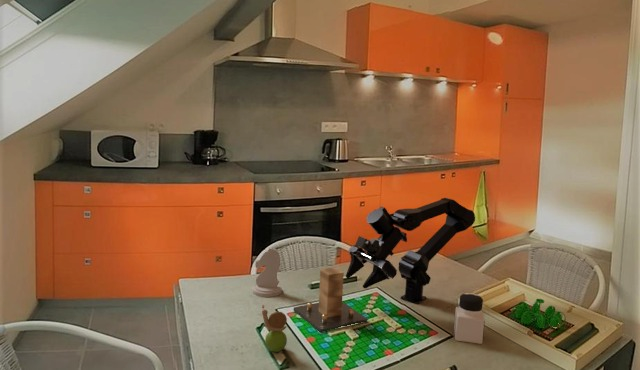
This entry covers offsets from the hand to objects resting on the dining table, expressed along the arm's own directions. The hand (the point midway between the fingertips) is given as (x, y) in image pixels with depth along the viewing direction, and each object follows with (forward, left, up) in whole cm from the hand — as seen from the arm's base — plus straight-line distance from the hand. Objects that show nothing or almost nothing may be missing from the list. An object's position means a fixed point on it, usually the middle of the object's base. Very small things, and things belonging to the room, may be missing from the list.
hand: (354, 282), depth 146 cm
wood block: (+8, -3, -8) cm, 12 cm away
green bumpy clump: (-33, +45, -10) cm, 57 cm away
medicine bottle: (-8, +33, -9) cm, 35 cm away
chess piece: (+7, -30, -9) cm, 32 cm away
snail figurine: (+34, -1, -9) cm, 35 cm away
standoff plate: (+8, -3, -9) cm, 13 cm away
